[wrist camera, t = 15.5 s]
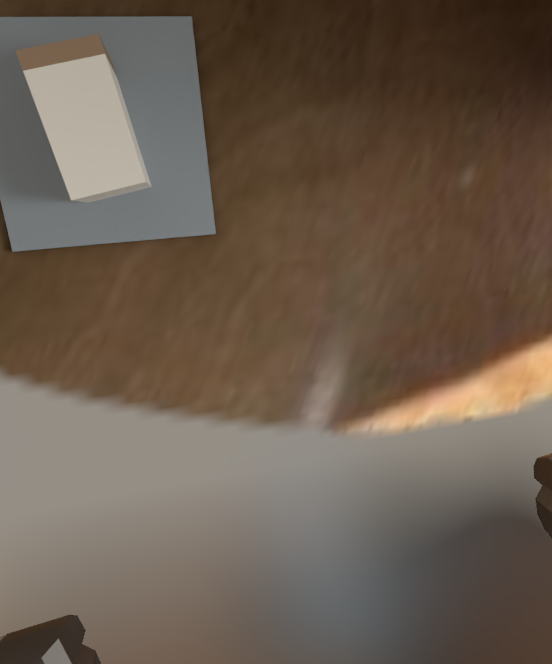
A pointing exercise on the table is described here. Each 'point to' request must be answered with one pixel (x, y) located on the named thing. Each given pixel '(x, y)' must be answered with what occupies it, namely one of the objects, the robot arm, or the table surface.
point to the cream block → (85, 117)
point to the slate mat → (148, 124)
